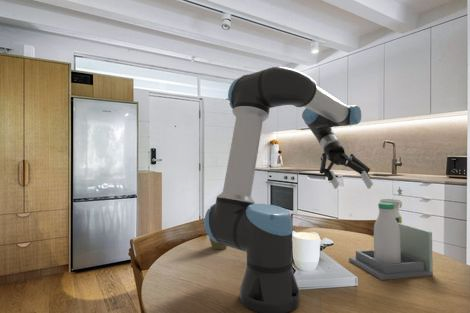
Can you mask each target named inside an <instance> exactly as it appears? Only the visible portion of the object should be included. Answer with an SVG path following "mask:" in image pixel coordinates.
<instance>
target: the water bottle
mask: <svg viewBox="0 0 470 313" xmlns="http://www.w3.org/2000/svg"><path fill="white" fill-rule="evenodd" d="M402 191H403V189H401V187H398V189H397V192H398V196H400V195H401V196H403V194H402ZM379 203H392V204H394V211H393V213H394V216H395V219H396V221H397V223H401V224H403V222H402V221H403V219H402V215H401V214H400V209H401V208H402V207H403V206H402V205H403V202H402V200H399V199H392V198H380V201H379Z"/></svg>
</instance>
